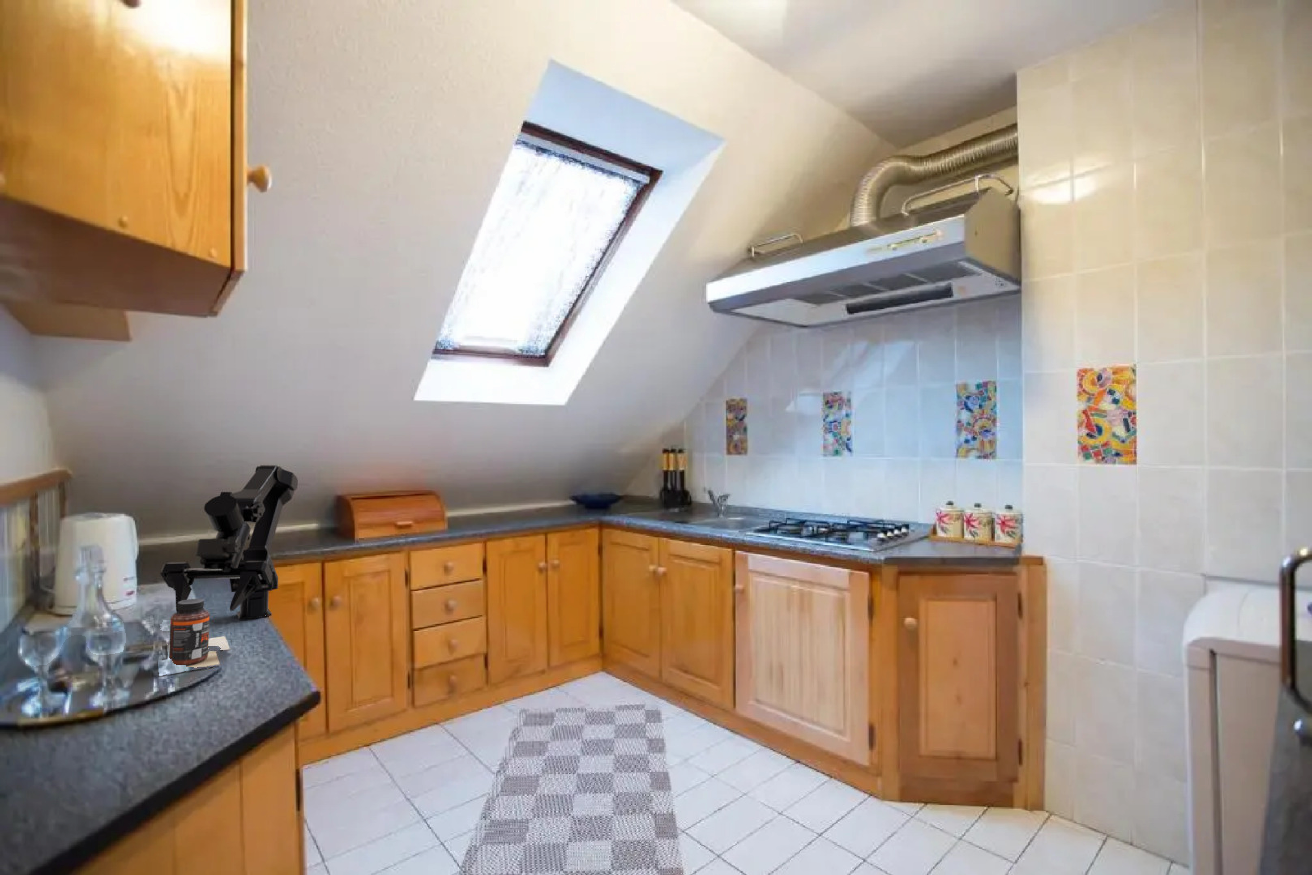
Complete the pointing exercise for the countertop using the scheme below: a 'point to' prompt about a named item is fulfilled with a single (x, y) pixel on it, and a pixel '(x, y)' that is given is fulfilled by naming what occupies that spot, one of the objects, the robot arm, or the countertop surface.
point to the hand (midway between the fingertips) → (204, 610)
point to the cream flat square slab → (219, 642)
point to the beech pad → (207, 661)
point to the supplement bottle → (189, 633)
